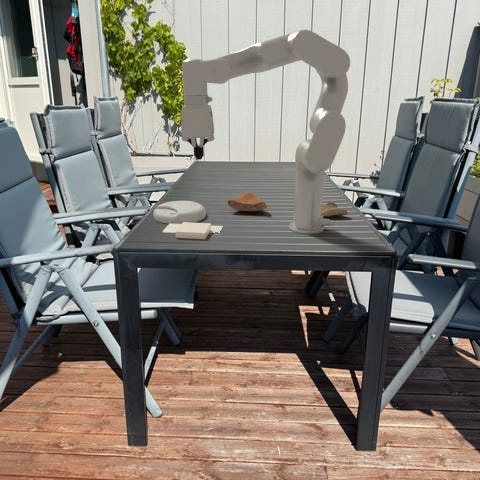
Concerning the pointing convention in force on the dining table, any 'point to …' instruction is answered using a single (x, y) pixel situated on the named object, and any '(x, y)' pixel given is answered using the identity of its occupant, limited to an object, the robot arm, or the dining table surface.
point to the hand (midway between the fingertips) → (199, 158)
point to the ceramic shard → (247, 202)
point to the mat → (173, 227)
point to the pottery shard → (332, 210)
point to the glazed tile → (193, 230)
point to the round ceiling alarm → (179, 212)
